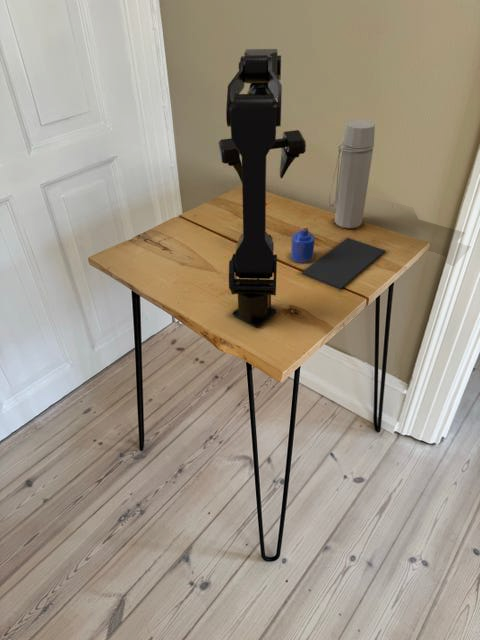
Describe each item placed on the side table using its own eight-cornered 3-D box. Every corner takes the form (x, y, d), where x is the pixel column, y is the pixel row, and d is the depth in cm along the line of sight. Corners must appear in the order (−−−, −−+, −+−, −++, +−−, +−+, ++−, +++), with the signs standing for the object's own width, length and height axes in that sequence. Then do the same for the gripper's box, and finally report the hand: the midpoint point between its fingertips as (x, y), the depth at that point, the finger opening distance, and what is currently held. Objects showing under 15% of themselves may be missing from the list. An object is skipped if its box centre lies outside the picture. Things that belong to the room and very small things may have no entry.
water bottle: (360, 217, 125) (375, 119, 109) (363, 231, 118) (379, 129, 103) (326, 216, 125) (335, 119, 110) (327, 230, 119) (337, 129, 104)
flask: (305, 265, 106) (307, 234, 101) (286, 258, 109) (287, 227, 104) (317, 256, 109) (320, 225, 104) (299, 249, 112) (301, 219, 107)
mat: (340, 289, 98) (341, 287, 98) (301, 273, 103) (301, 272, 103) (384, 252, 110) (385, 250, 110) (347, 239, 115) (347, 237, 115)
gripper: (295, 92, 103) (292, 156, 115) (212, 102, 102) (218, 166, 114) (308, 116, 96) (303, 182, 108) (219, 127, 94) (224, 192, 106)
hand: (261, 179), depth 109 cm, fingers open, 9 cm apart
